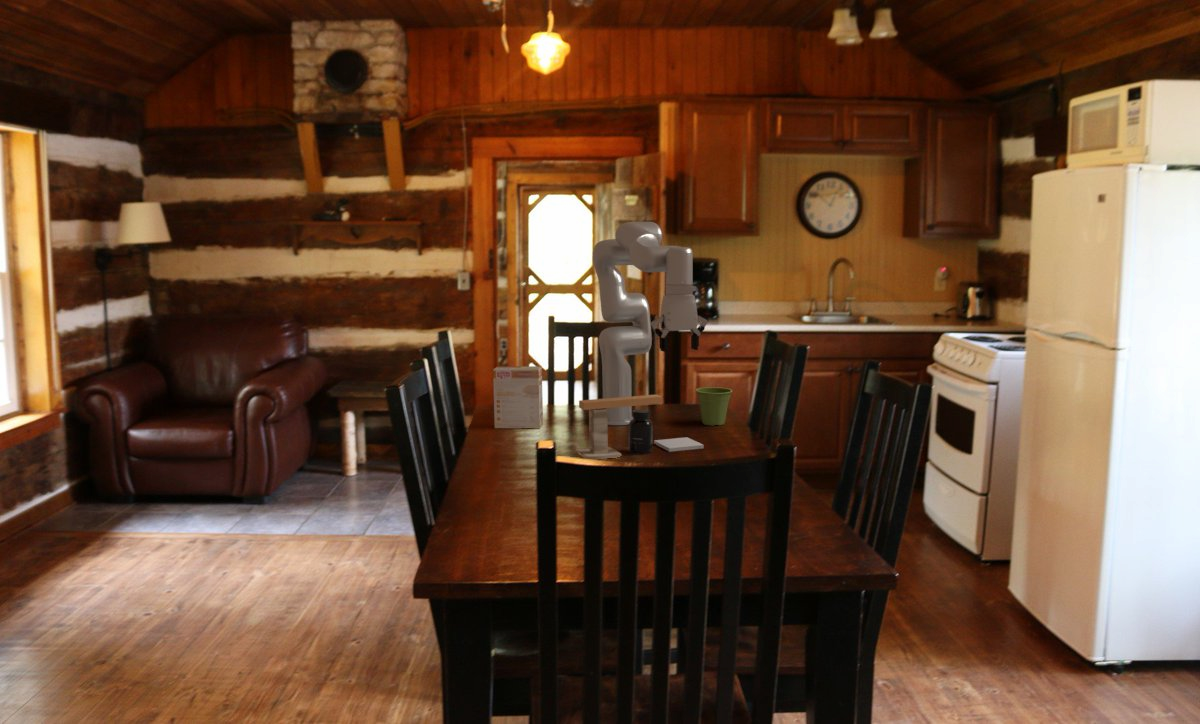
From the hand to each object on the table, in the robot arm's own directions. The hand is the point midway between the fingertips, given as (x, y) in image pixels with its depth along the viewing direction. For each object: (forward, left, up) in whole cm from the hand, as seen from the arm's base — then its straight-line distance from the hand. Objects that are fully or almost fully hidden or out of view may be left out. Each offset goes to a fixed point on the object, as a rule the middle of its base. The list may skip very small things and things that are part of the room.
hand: (679, 350), depth 285 cm
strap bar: (-2, -17, -15) cm, 23 cm away
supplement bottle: (-2, -11, -29) cm, 32 cm away
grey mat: (-4, +2, -29) cm, 30 cm away
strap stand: (-2, -24, -29) cm, 38 cm away
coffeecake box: (-49, -34, -29) cm, 67 cm away
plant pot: (-28, +26, -29) cm, 48 cm away
